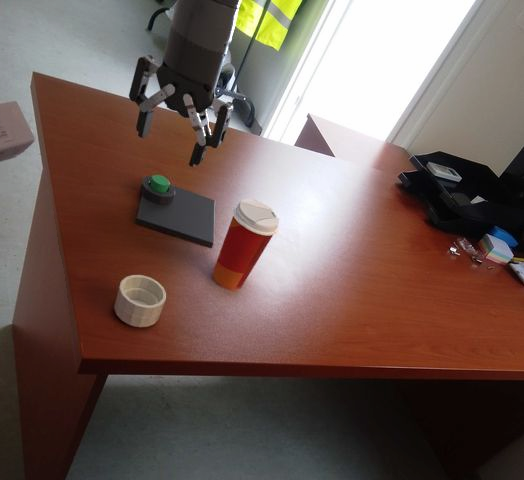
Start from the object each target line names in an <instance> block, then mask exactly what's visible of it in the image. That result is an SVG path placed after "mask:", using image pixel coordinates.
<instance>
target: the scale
mask: <svg viewBox="0 0 524 480" xmlns="http://www.w3.org/2000/svg"><path fill="white" fill-rule="evenodd" d="M151 179H152V176H148V175H146V176H145V177H143V178H142V180H141V185H140V188H139V193H140V194H141V197H140V200H139V206H138V209H137V214H136V218H135V222H134V224H135V225H139V226H142V227H145V228H148V229H151V230H155V231H157V232H159V233H163V234H166V235H170V236H172V237H175V238H179V239H182V240H185V241H188V242H191V243H194V244H196V245H197V244H198V245H201V246H204V247H207V248H209V249H212V248H213V246H214V244H215V217H216V216H215V214H216V210H215V209H216V200H215V199H212V198H210V197H207V196H203V195H201V194H198V193H196V192H193V191H190V190H187V189H184V188H182V187H179V186H176V185H173V184H172V183H170V182H169V186H168V189H167V192H166V193H162V192H158V191H155V190H154V189H152V188H151V187H150V183H151Z"/></svg>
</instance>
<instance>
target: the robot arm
mask: <svg viewBox="0 0 524 480" xmlns="http://www.w3.org/2000/svg"><path fill="white" fill-rule="evenodd" d="M241 2H242V0H176V2H175V6H174V11H173V14H172V19H171V22H170V27H169V31H168V35H167V39H166V44H165V47H164V48H165V49H164V53H163V57H162V63H161V64H159V63H157V62H156V61H155V58H154V56H152V55H151V54H147V55H144V56H141V57H138V59H137V62H136V66H135V70H134V74H133V78H132V82H131V85H130V88H129V89H130V90H129V92H128V98H129V100H130V101H131V102H134V103H135V104H136V105H137V107H138V109H139V112H138V117H137V121H136V125H135V129H136V132H138V133H137V136H138V137H139V138H141V139H142V140H143V139H145V138H147V137H148V135H149V134H150V130H151V126H152V122H153V118H154V114H155V111H154V110H153V109H155V108H156V107H158V106H160V105H161V104H162V103H164V104H165V106H166V108H167V109H169V110H171V111H174V112H177V113H178V115H180V116H181V117H182V118H184V119H189V121H190V124H191V125H190V126H191V128H192V129H193V130H194V133H195V137H196V140H197V141H196V142H195V143H194V146H193V150H192V153H191V156H190V159H189V161H188V166H189V167H191V168H195V167H196V166H199V165H200V164H201V163H202V162H203V161H204V160H205V159H204V158H205V155H206V153H207V150H208V147H211V148H212V149H217V148H218V147H219V146H221V145H222V144H224V141H225V139H226V134H227V131H228V127H229V125H230V121H231V117H232V113H233V110H234V104H233V103H232V102H231V101H227V102H225V101H223V100H222V99H219V98H217V97H216V87H217V84H218V82H219V78H220V75H221V71H222V68H223V65H224V63H225V60H226V56H227V53H228V50H229V48H230V46H231V44H232V40H233V34H234V31H235V28H236V23H237V18H238V13H239V10H240V5H241V4H242V3H241ZM155 75H156V80H157V82H158V86H159V90H158V91H156V92H155V93H154V94H152V95H151V96H149V97H148V96H147V95H146V91H147V89H148V85H149V81H150V78H152V77H154V76H155ZM210 107H212V108H213V114H214V117H215V118H216V121H215V124H214V127H213V131H212V134H211V128H210V125H209V122H210V120H209V117H208V112H207V109H210Z"/></svg>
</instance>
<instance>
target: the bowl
mask: <svg viewBox="0 0 524 480" xmlns="http://www.w3.org/2000/svg"><path fill="white" fill-rule="evenodd" d="M166 301H167V292H166V290H165V288H164V286H162V284H160V282H158V281H157V280H155V279H154V278H153V277H149V276H146V275H143V274H132V275H128V276H125V277H124V278H123V279H122V280H121V281H120V283H119V287H118V291H117V294H116V298H115V303H114V306H113V308H114V312H115V314H116V316H117V317H118V318H119V319H120V320H121V321H122V322H124V323H125V324H127V325H128V326H131V327H135V328H148V327H150V326H153V325H155V324H156V323H157V322H158V320H159V319H160V317H161V313H162V312H163V311H162V310H163V308H164V306H165V303H166Z"/></svg>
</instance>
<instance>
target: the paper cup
mask: <svg viewBox="0 0 524 480" xmlns="http://www.w3.org/2000/svg"><path fill="white" fill-rule="evenodd" d="M279 224H280V219H279V217H278V216H277V214H276V213H275V212H274V211H273V209H272V208H271V207H269V206H268V205H267V204H265V203H263V202H261V201H258V200H257V199H256V200H255V199H250V198H249V199H248V198H247V199H242V200H240V201H239V203H238V204H236V205H235V206H234V207H233V209H232V218H231V221H230V223H229V226H228V228H227V232H226V234H225V237H224V240H223V242H222V245H221V248H220V251H219V254H218V255H217V259H216V262H215V264H214V268H213V271H212V277H213V280H214V282H216V284H217V285H219V286H220V287H222V288H224V289H226V290H229V291H230V290H231V291H237V290H240V289H241V288H242V287H243V285H244V283H245V282H246V280H247V279H248V278H249V276H250V274H251V273H252V271H253V269H254V267H255V266H256V264H257V262H258V261H259V260H260V258H261V256H262V254H263V253H264V251H265V250H266V248H267V246H268V244H269V243H270V241H271V240H272V238H273V236H274V235H276V234H277V233H278V232H279Z"/></svg>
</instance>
